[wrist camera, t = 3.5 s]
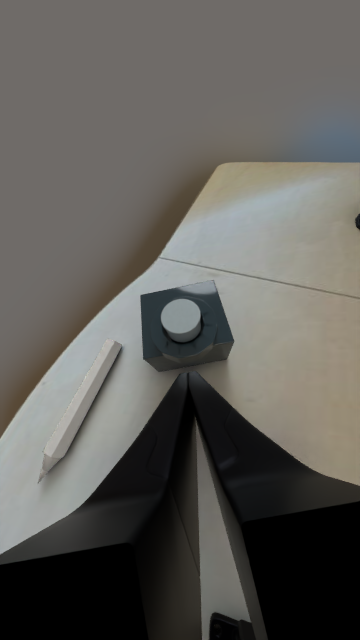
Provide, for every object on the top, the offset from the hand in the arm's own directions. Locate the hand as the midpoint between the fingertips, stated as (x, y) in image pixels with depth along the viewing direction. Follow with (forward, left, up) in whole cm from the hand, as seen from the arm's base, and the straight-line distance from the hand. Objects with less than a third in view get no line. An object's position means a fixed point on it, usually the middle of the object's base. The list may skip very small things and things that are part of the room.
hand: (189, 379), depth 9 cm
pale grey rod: (-3, +14, -13) cm, 19 cm away
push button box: (+7, +2, -13) cm, 15 cm away
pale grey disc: (+6, +2, -5) cm, 8 cm away
